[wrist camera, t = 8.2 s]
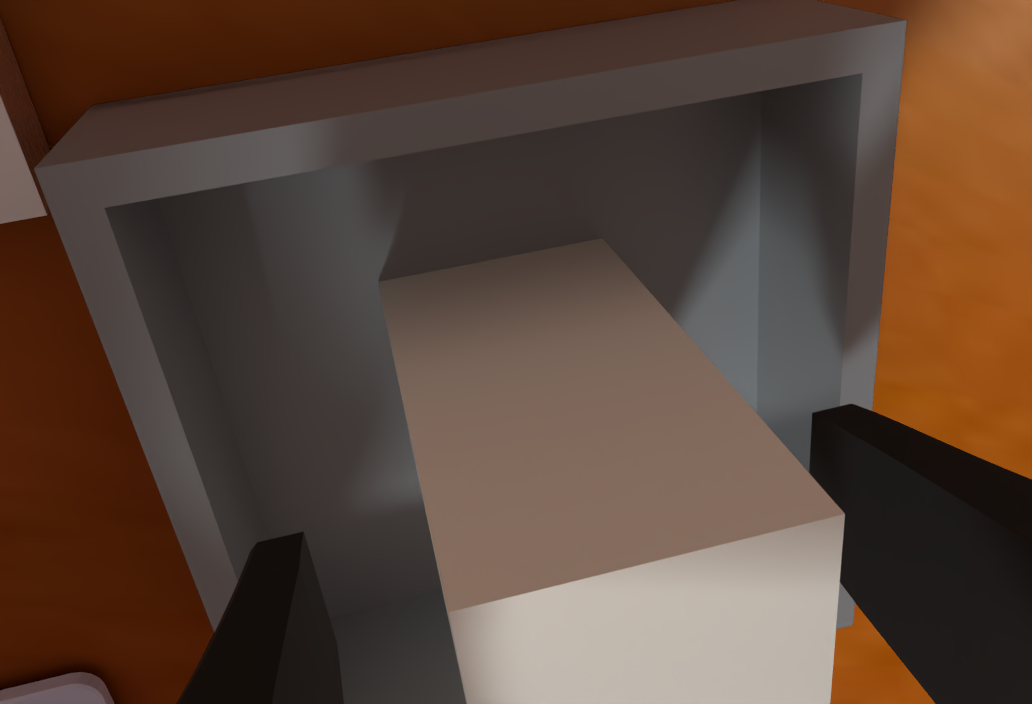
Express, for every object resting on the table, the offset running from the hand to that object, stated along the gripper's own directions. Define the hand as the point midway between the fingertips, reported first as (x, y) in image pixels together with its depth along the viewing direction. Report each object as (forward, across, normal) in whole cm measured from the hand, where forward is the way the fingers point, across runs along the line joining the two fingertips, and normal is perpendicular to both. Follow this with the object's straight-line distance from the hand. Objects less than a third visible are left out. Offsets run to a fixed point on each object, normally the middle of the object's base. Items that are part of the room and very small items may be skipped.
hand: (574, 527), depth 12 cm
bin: (+5, 0, 0) cm, 5 cm away
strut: (+5, 0, 0) cm, 5 cm away
